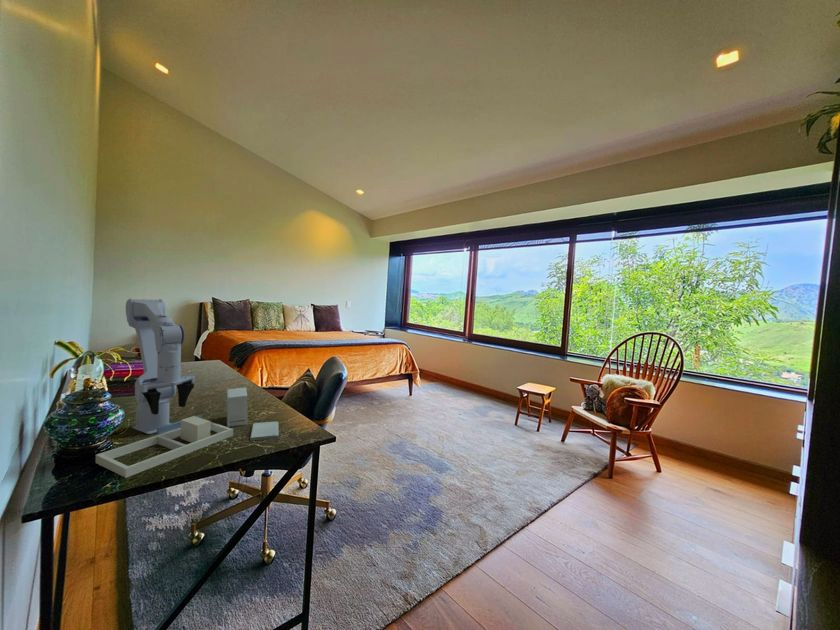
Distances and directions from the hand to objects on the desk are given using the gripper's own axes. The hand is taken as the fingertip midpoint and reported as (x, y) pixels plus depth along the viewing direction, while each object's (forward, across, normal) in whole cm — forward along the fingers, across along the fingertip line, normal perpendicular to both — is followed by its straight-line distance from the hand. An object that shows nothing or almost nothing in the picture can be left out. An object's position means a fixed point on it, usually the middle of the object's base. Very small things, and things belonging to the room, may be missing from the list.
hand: (168, 410), depth 104 cm
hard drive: (+10, +20, -18) cm, 29 cm away
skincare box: (+10, +21, -3) cm, 23 cm away
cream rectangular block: (+10, +5, -6) cm, 12 cm away
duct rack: (+10, -2, -6) cm, 11 cm away
